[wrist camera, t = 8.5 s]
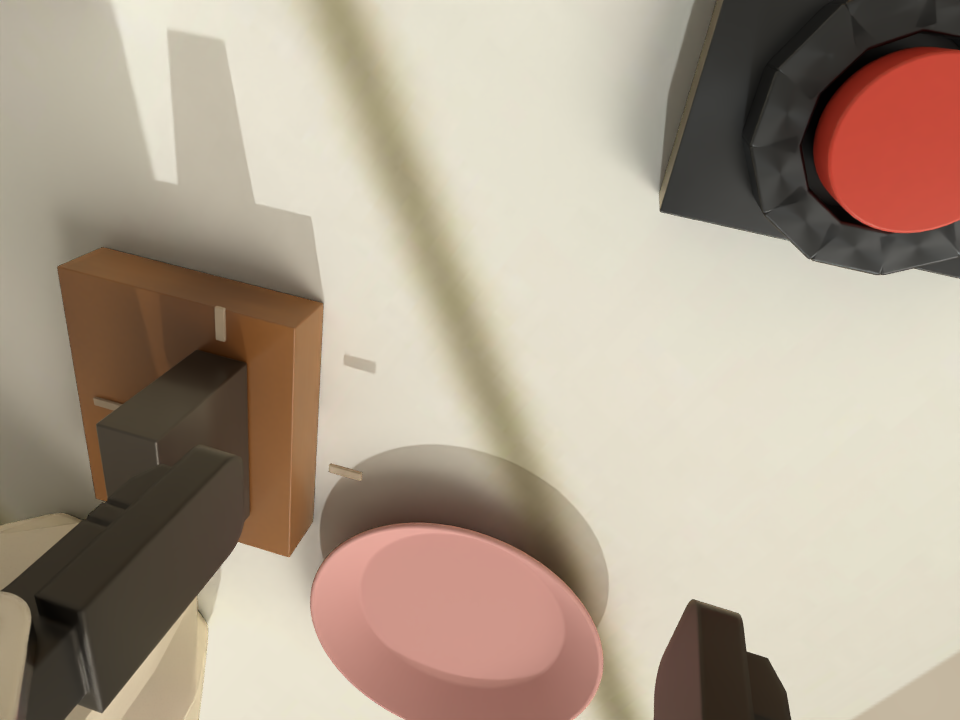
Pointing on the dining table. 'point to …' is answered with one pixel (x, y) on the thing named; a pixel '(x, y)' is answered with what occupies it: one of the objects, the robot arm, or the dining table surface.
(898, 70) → the button
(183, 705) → the vase
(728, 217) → the button block
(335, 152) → the dining table surface
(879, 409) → the dining table surface
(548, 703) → the plate
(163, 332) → the oak panel
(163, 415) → the bar knob
